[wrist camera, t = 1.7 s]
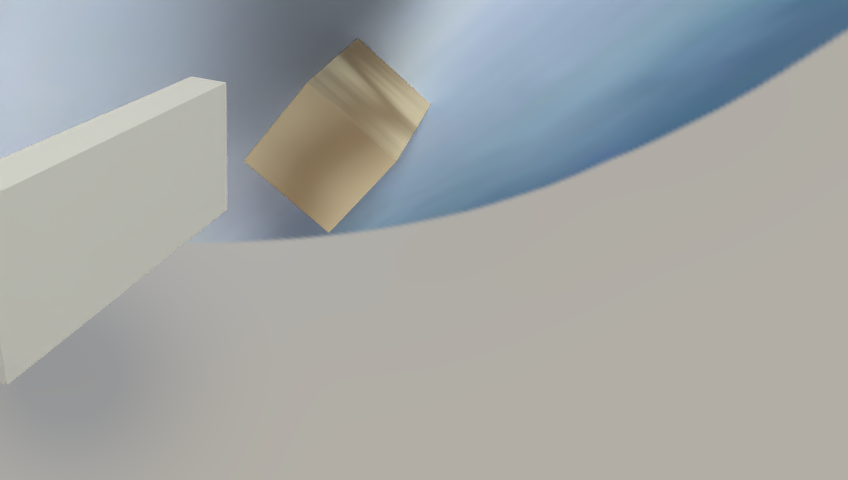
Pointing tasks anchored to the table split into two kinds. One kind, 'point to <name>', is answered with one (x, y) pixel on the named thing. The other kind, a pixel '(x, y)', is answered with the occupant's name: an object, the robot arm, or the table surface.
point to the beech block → (339, 135)
